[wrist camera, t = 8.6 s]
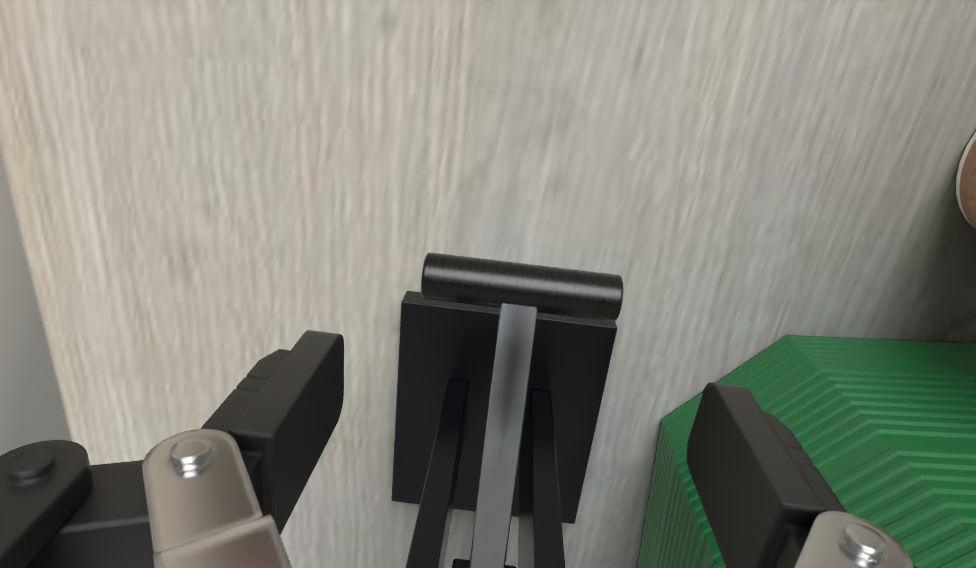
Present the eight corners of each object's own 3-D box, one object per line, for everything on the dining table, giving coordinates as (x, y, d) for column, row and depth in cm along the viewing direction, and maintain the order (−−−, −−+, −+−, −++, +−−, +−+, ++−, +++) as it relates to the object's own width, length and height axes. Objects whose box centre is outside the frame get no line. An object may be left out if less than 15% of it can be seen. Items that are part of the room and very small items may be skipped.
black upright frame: (406, 290, 27) (301, 503, 14) (613, 315, 27) (695, 553, 14) (396, 484, 31) (310, 776, 19) (572, 506, 31) (606, 816, 19)
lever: (431, 251, 18) (421, 252, 16) (613, 273, 18) (630, 277, 16) (390, 626, 19) (374, 681, 17) (561, 649, 19) (570, 706, 17)
